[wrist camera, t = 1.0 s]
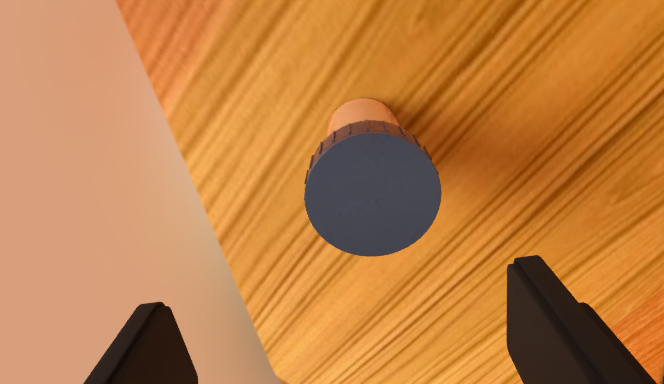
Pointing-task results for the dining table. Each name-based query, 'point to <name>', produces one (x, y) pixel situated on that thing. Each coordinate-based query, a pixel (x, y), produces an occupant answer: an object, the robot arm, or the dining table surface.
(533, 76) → the dining table surface
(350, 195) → the cap
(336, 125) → the jar
